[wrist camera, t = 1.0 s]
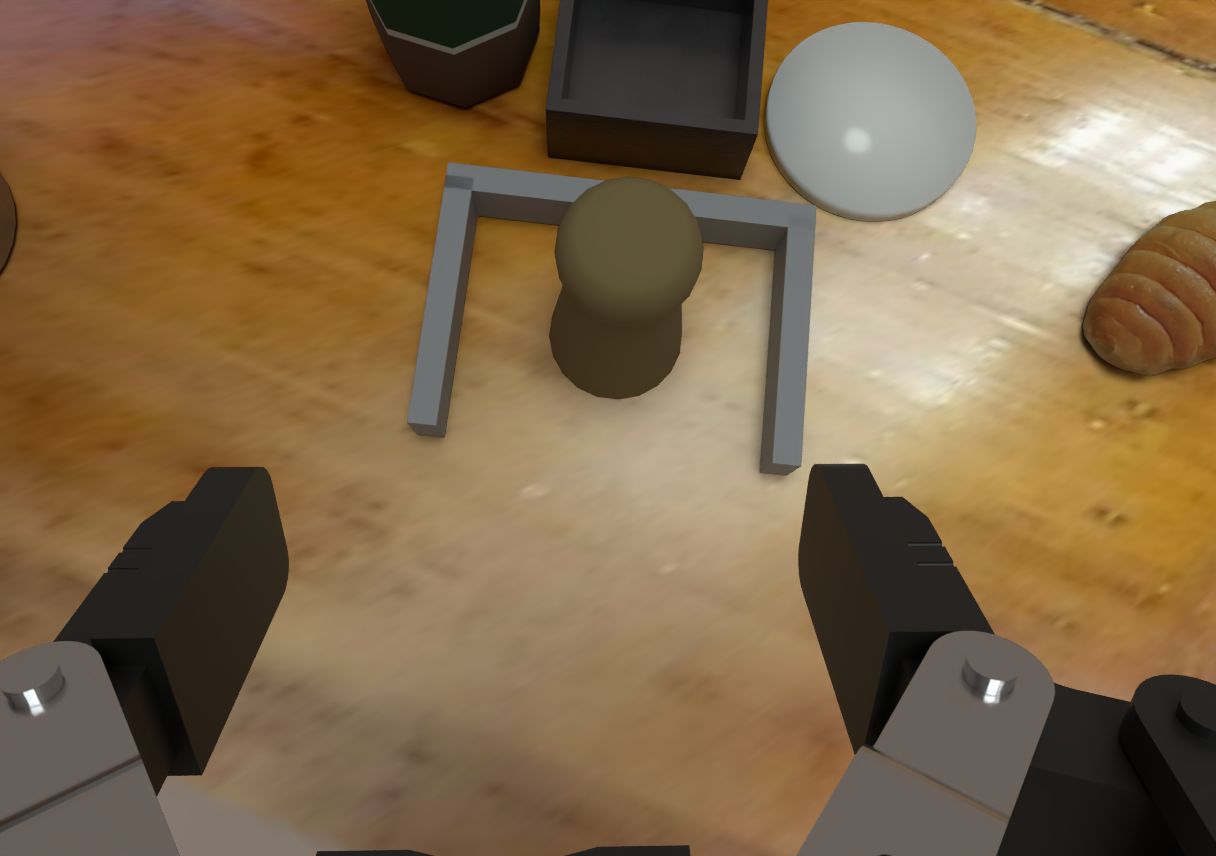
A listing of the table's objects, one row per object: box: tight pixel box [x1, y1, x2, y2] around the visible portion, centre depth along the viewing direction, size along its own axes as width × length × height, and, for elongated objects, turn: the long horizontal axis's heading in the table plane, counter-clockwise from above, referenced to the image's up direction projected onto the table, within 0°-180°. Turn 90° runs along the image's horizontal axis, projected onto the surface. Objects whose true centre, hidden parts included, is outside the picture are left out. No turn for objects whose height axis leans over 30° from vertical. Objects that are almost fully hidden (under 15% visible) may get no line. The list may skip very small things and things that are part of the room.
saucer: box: [764, 22, 976, 222], centre depth 42 cm, size 10×10×1 cm
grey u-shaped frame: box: [407, 162, 817, 475], centre depth 38 cm, size 16×12×2 cm
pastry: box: [1083, 201, 1216, 376], centre depth 39 cm, size 9×7×4 cm
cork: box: [549, 177, 704, 399], centre depth 34 cm, size 6×6×11 cm
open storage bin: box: [546, 0, 768, 179], centre depth 40 cm, size 9×9×4 cm
